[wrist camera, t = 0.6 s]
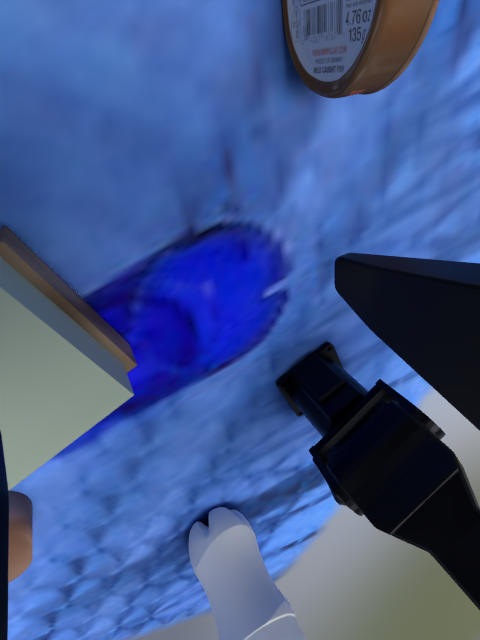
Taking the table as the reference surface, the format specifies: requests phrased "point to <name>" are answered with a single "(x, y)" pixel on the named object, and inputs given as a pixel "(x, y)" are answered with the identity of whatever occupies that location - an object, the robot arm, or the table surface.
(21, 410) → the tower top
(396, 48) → the tin
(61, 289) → the tower base
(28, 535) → the puck
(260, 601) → the water bottle
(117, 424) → the table surface
